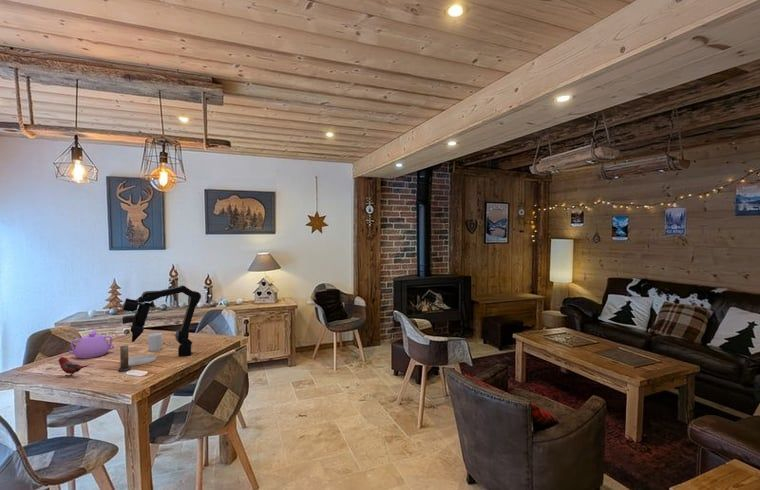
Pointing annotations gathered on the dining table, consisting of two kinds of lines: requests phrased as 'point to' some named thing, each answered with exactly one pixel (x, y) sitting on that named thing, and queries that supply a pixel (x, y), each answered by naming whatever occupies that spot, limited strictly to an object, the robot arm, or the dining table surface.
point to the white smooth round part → (140, 360)
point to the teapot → (91, 346)
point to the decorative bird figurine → (69, 366)
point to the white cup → (155, 341)
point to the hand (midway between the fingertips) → (133, 339)
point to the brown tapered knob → (124, 359)
